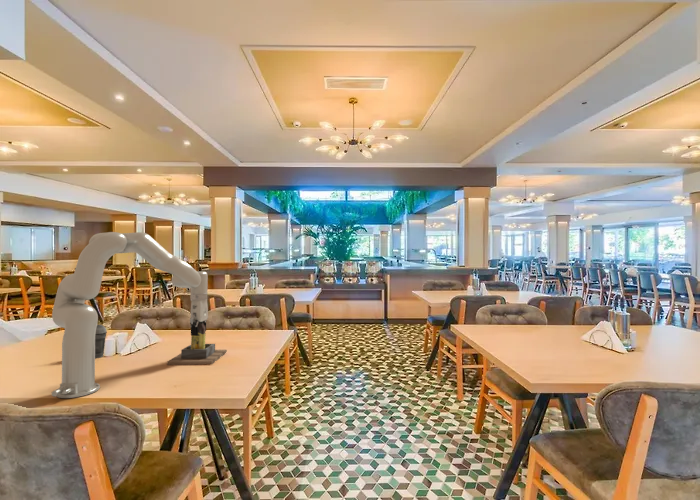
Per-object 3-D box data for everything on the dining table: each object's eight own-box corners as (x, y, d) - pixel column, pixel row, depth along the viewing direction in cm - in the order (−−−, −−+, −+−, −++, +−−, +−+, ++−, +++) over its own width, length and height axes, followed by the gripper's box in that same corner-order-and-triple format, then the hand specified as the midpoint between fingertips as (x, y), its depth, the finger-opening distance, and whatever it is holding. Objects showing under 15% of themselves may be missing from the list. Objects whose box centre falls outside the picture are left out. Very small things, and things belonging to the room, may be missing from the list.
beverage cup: (97, 359, 169) (97, 317, 170) (84, 358, 171) (84, 316, 171) (110, 355, 177) (110, 314, 177) (98, 354, 178) (98, 314, 178)
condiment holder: (212, 364, 161) (212, 352, 162) (167, 364, 161) (167, 352, 161) (226, 352, 181) (226, 341, 182) (186, 352, 181) (187, 341, 181)
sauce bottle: (187, 356, 170) (188, 314, 170) (199, 352, 175) (199, 312, 176) (197, 357, 167) (197, 315, 167) (208, 354, 172) (208, 313, 173)
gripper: (199, 299, 163) (199, 337, 163) (213, 295, 180) (213, 329, 180) (183, 299, 163) (182, 337, 163) (198, 295, 180) (198, 329, 180)
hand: (198, 333), depth 171 cm, fingers open, 9 cm apart
